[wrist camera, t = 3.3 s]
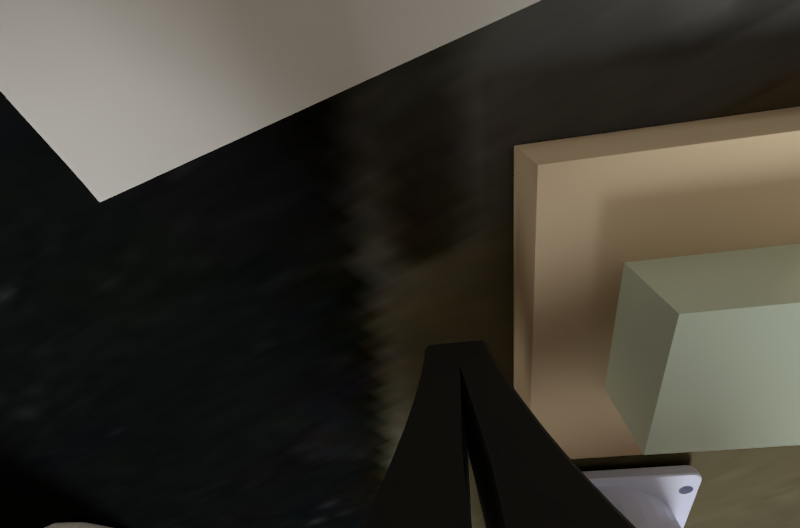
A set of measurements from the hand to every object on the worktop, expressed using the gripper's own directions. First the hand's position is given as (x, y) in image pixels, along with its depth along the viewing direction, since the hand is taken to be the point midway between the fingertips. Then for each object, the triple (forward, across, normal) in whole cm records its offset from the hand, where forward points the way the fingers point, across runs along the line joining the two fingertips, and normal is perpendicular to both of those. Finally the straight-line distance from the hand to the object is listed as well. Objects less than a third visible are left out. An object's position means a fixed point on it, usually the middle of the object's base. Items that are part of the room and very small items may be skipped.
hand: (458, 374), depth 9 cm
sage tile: (+1, -6, 0) cm, 6 cm away
